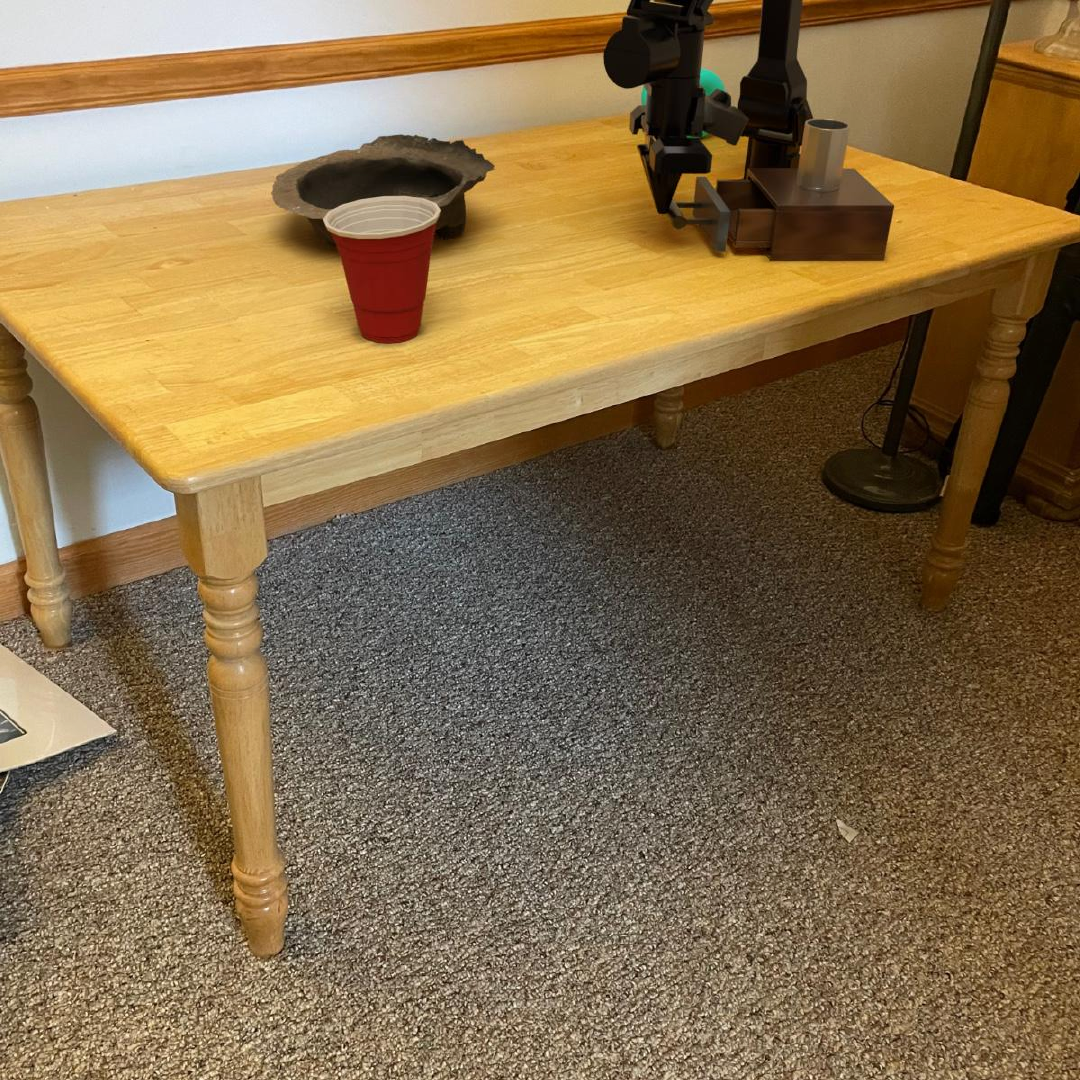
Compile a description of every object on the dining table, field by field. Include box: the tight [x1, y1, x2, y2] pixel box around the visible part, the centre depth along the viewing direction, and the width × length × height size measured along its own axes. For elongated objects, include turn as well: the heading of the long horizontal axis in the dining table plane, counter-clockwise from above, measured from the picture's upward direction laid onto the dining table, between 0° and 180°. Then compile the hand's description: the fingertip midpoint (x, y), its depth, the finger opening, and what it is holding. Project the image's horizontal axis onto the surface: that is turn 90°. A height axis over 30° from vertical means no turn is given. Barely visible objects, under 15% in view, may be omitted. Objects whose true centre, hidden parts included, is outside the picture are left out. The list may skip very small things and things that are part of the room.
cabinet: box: [746, 168, 895, 262], centre depth 139 cm, size 13×14×6 cm
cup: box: [796, 117, 851, 192], centre depth 136 cm, size 5×5×7 cm
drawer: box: [665, 176, 776, 253], centre depth 139 cm, size 17×13×5 cm
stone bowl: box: [270, 134, 496, 246], centre depth 136 cm, size 25×25×9 cm
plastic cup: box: [323, 196, 441, 344], centre depth 112 cm, size 11×11×12 cm
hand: (662, 213), depth 138 cm, fingers closed, pressing on drawer
